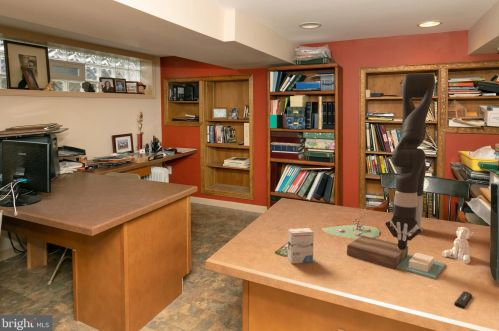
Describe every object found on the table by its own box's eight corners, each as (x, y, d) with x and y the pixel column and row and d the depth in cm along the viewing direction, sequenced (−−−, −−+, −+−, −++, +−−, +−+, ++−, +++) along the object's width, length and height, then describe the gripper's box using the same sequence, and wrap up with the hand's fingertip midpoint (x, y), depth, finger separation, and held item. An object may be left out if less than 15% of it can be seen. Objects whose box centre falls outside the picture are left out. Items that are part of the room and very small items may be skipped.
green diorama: (329, 241, 149) (329, 221, 147) (318, 225, 169) (319, 207, 168) (386, 240, 149) (387, 220, 148) (369, 225, 169) (370, 207, 168)
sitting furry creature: (440, 256, 132) (443, 226, 130) (451, 250, 137) (453, 221, 135) (467, 264, 124) (471, 233, 122) (477, 258, 129) (481, 228, 127)
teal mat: (408, 255, 132) (408, 254, 132) (445, 265, 124) (445, 263, 124) (396, 268, 122) (396, 266, 122) (435, 279, 114) (435, 277, 113)
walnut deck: (362, 244, 143) (362, 235, 143) (407, 256, 132) (408, 246, 131) (346, 254, 133) (347, 245, 132) (394, 268, 121) (395, 258, 121)
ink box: (308, 256, 132) (309, 227, 130) (313, 262, 127) (314, 231, 125) (287, 258, 130) (287, 228, 128) (290, 263, 125) (291, 233, 124)
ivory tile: (433, 256, 124) (433, 263, 124) (415, 252, 127) (415, 259, 128) (427, 265, 117) (427, 272, 117) (409, 260, 120) (408, 267, 121)
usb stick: (463, 310, 97) (464, 305, 96) (453, 306, 98) (453, 301, 98) (472, 297, 103) (473, 293, 103) (462, 294, 105) (463, 289, 105)
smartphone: (273, 252, 135) (291, 239, 147) (273, 255, 135) (291, 242, 147) (290, 257, 130) (307, 243, 143) (290, 259, 131) (307, 245, 143)
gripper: (428, 204, 121) (424, 251, 124) (390, 198, 130) (387, 242, 133) (422, 209, 116) (418, 257, 118) (382, 202, 124) (380, 247, 127)
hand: (402, 249), depth 126 cm, fingers closed
